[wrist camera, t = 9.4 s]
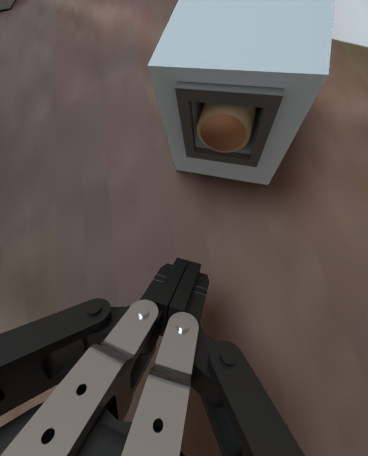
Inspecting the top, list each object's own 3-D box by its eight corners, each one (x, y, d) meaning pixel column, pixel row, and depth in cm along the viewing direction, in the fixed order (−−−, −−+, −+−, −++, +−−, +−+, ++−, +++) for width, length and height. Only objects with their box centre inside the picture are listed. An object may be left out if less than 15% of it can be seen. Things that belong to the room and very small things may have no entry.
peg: (244, 156, 16) (256, 113, 12) (197, 150, 16) (194, 107, 13) (266, 58, 19) (280, 0, 15) (226, 56, 20) (231, 1, 16)
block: (267, 190, 19) (327, 83, 9) (174, 174, 21) (144, 72, 11) (284, 87, 23) (340, -63, 14) (205, 82, 25) (203, -52, 16)
